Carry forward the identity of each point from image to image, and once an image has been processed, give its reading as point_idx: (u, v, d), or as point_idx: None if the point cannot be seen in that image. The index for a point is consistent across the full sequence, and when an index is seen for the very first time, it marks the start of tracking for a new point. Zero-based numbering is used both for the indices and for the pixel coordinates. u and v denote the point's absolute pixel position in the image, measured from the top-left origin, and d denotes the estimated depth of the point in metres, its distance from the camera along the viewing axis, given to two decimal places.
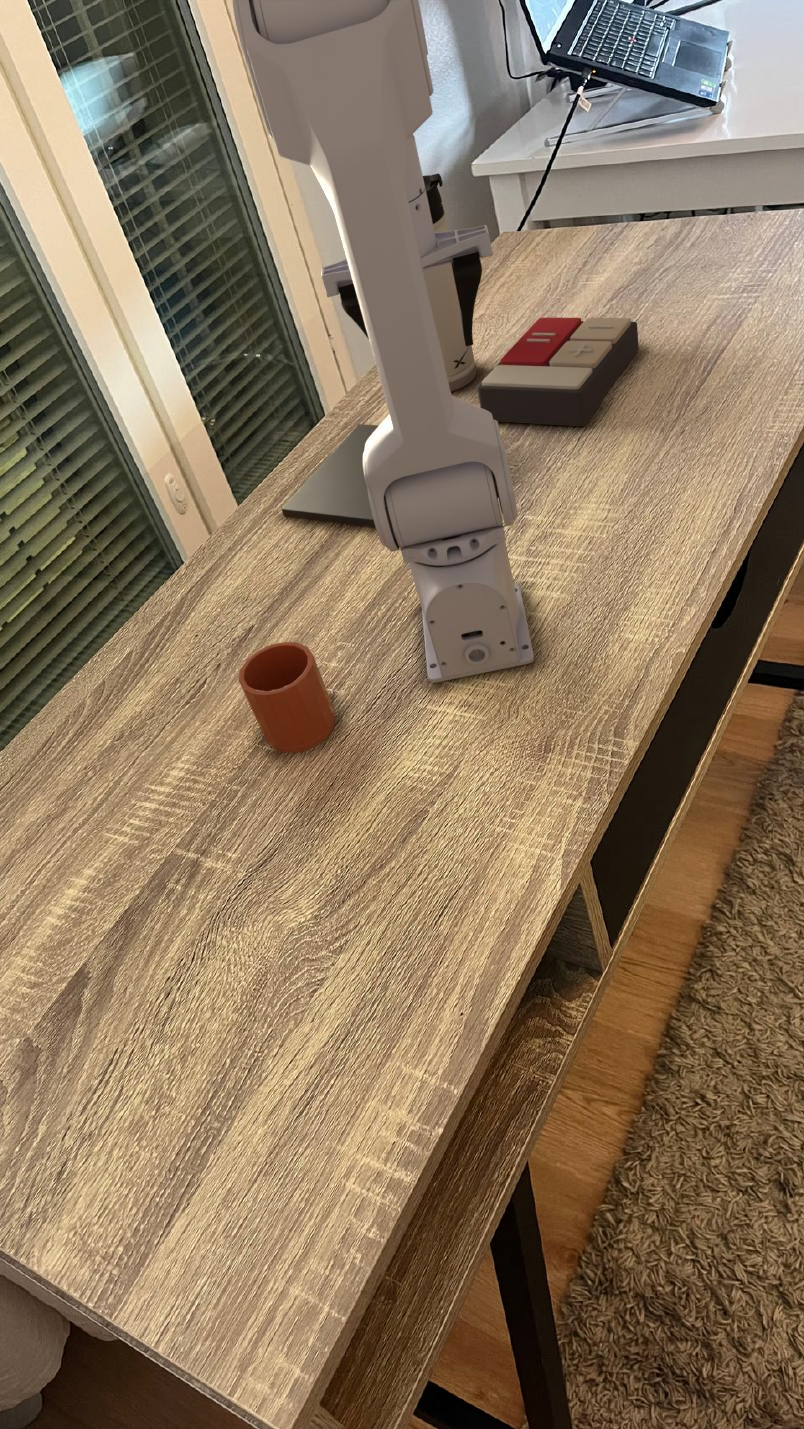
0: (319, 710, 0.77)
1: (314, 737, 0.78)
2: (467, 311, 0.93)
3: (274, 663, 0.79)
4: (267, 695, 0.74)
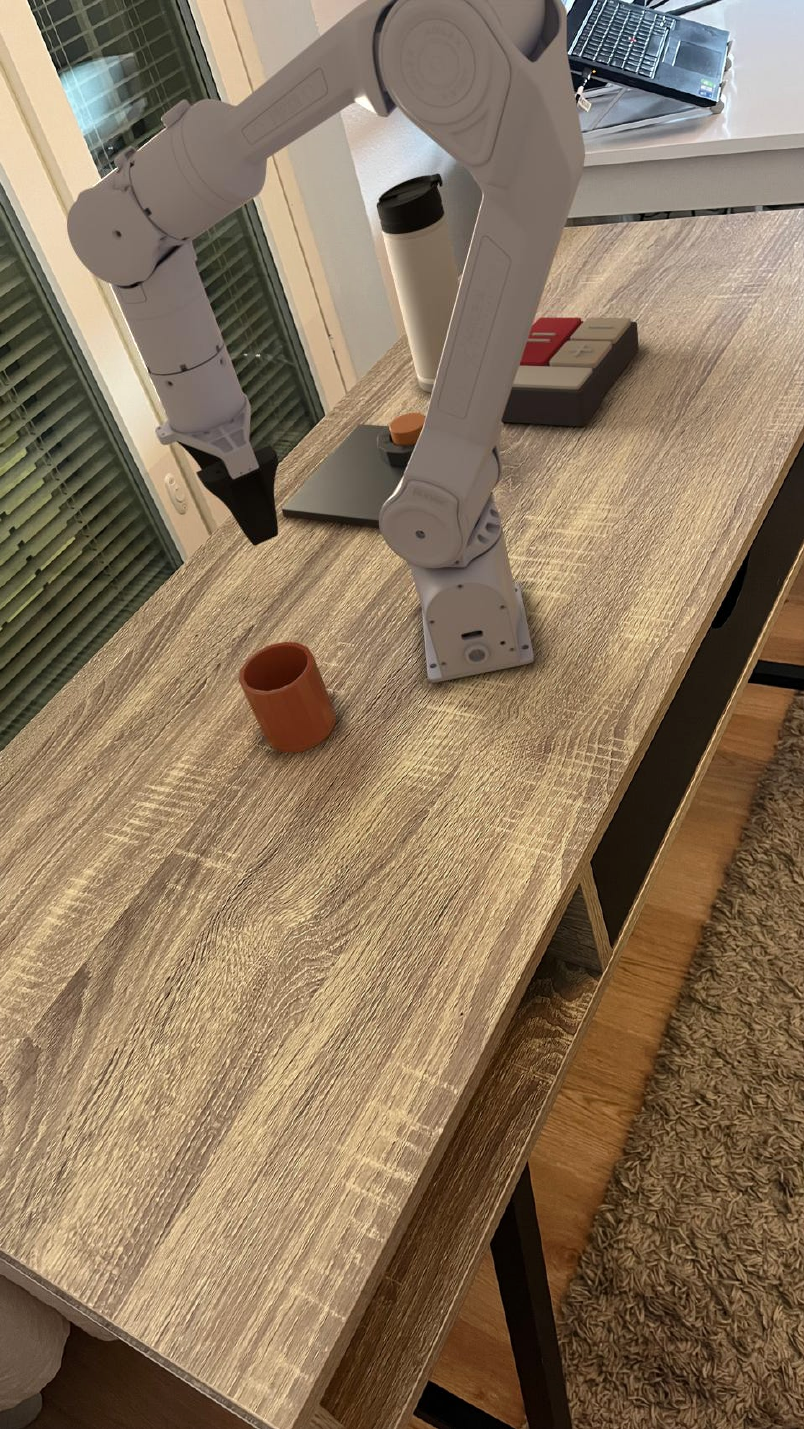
0: (319, 710, 0.77)
1: (314, 737, 0.78)
2: None
3: (274, 663, 0.79)
4: (267, 695, 0.74)
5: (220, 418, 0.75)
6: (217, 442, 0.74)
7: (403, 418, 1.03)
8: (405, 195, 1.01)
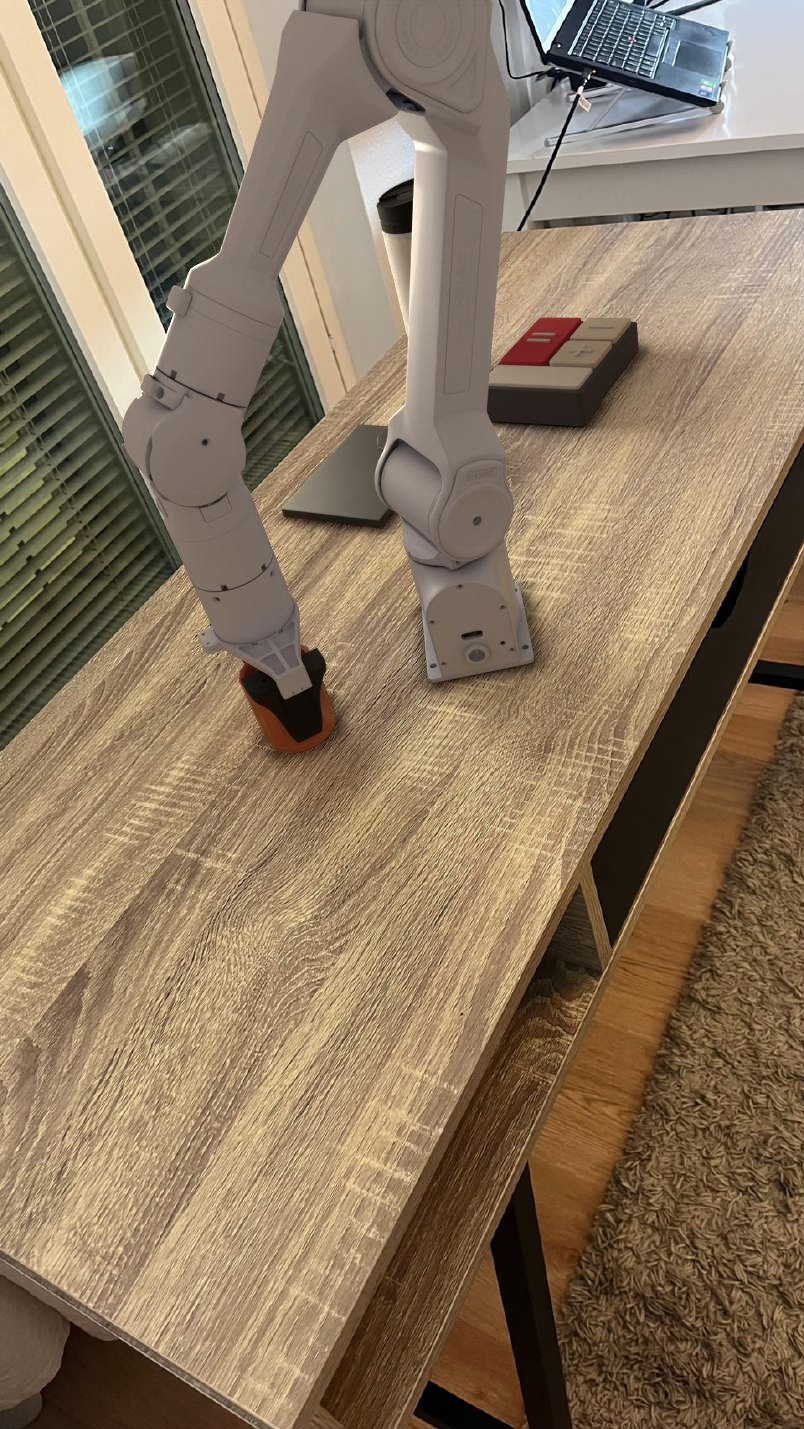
0: None
1: (314, 737, 0.78)
2: None
3: None
4: None
5: (269, 629, 0.71)
6: (267, 658, 0.70)
7: None
8: (405, 195, 1.01)
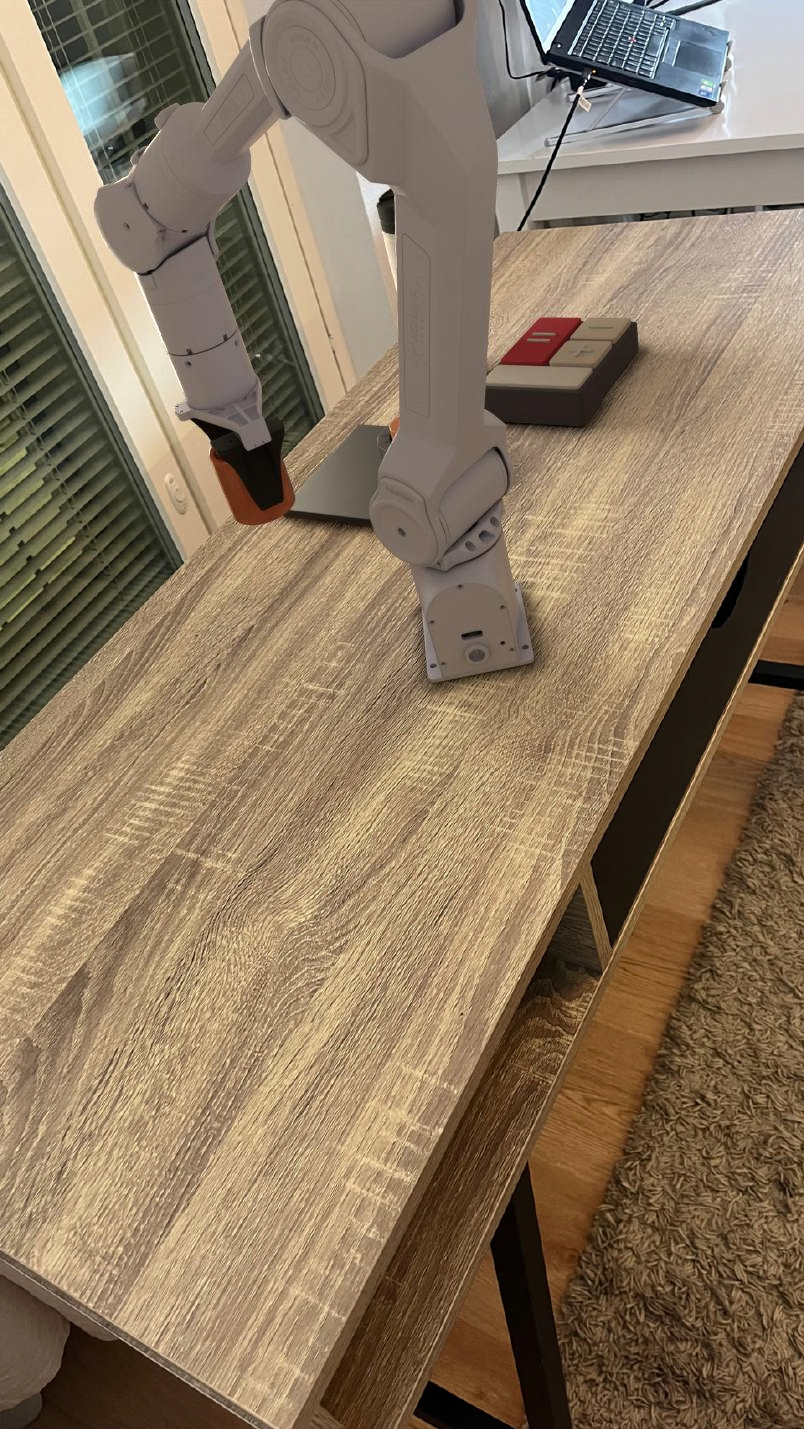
0: None
1: (276, 510, 0.88)
2: None
3: None
4: None
5: (234, 395, 0.81)
6: (233, 417, 0.80)
7: None
8: None
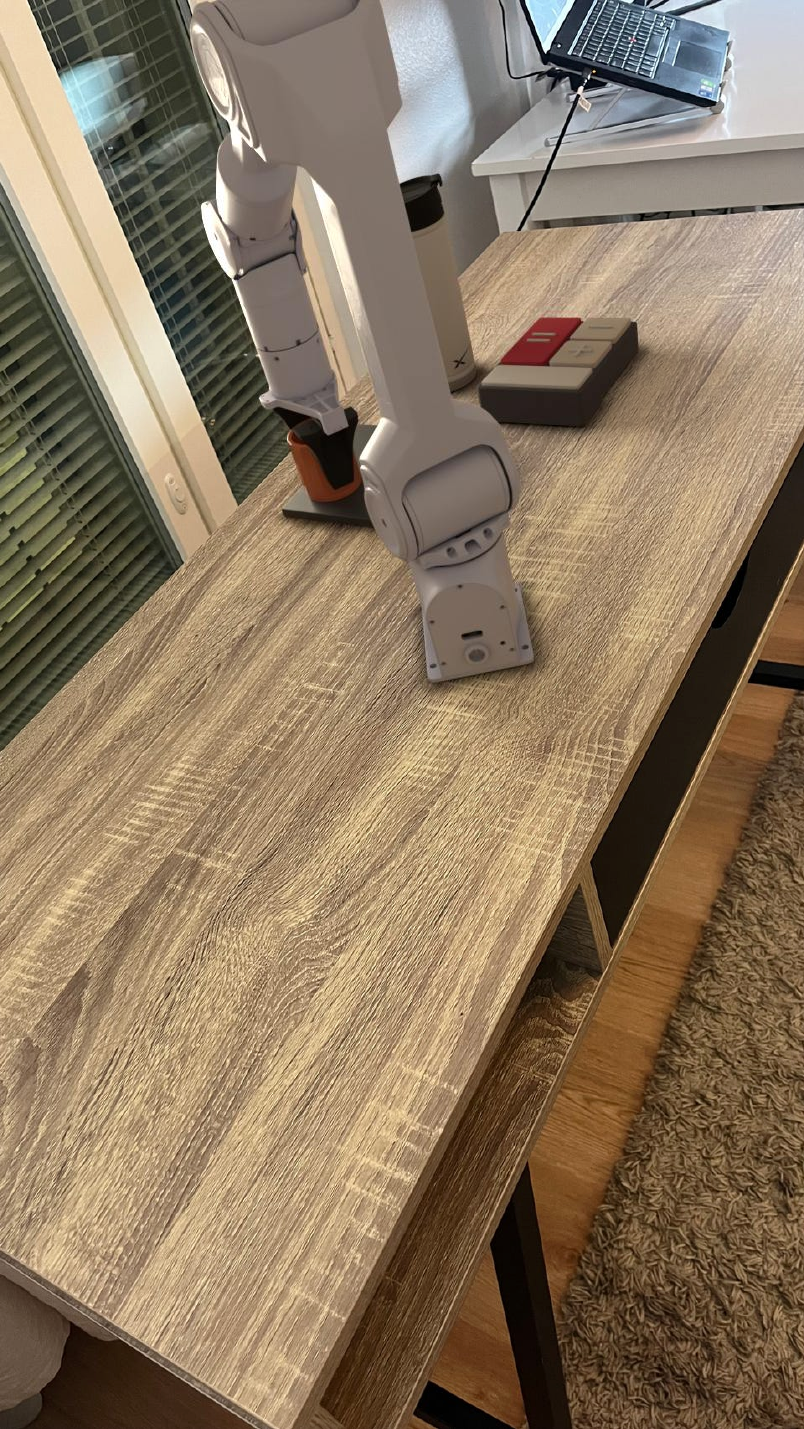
0: None
1: (345, 488, 1.00)
2: None
3: None
4: None
5: (315, 387, 0.93)
6: (314, 405, 0.92)
7: None
8: (405, 195, 1.01)
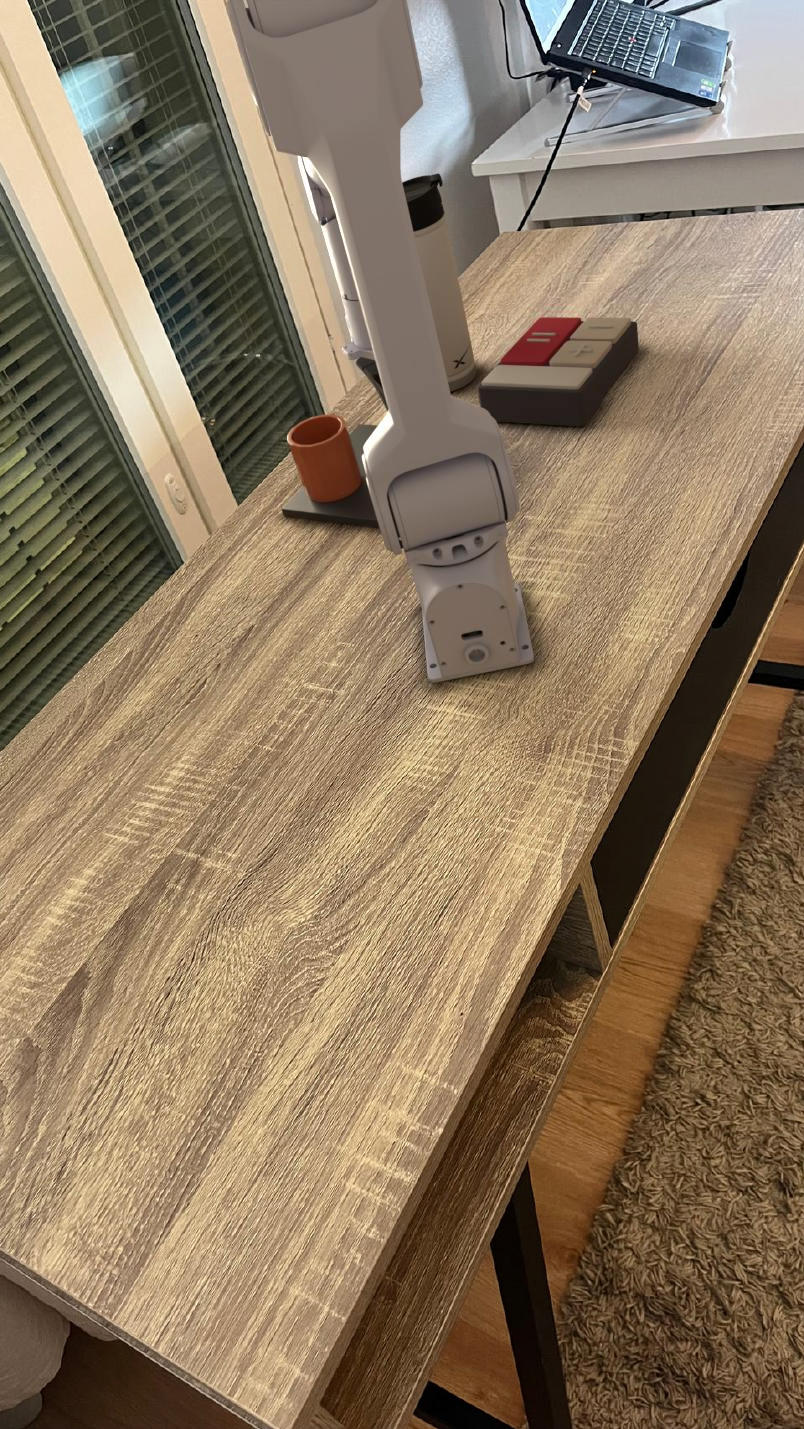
0: (349, 465, 0.99)
1: (345, 488, 1.00)
2: None
3: (314, 433, 1.01)
4: (310, 447, 0.96)
5: None
6: None
7: None
8: (405, 195, 1.01)
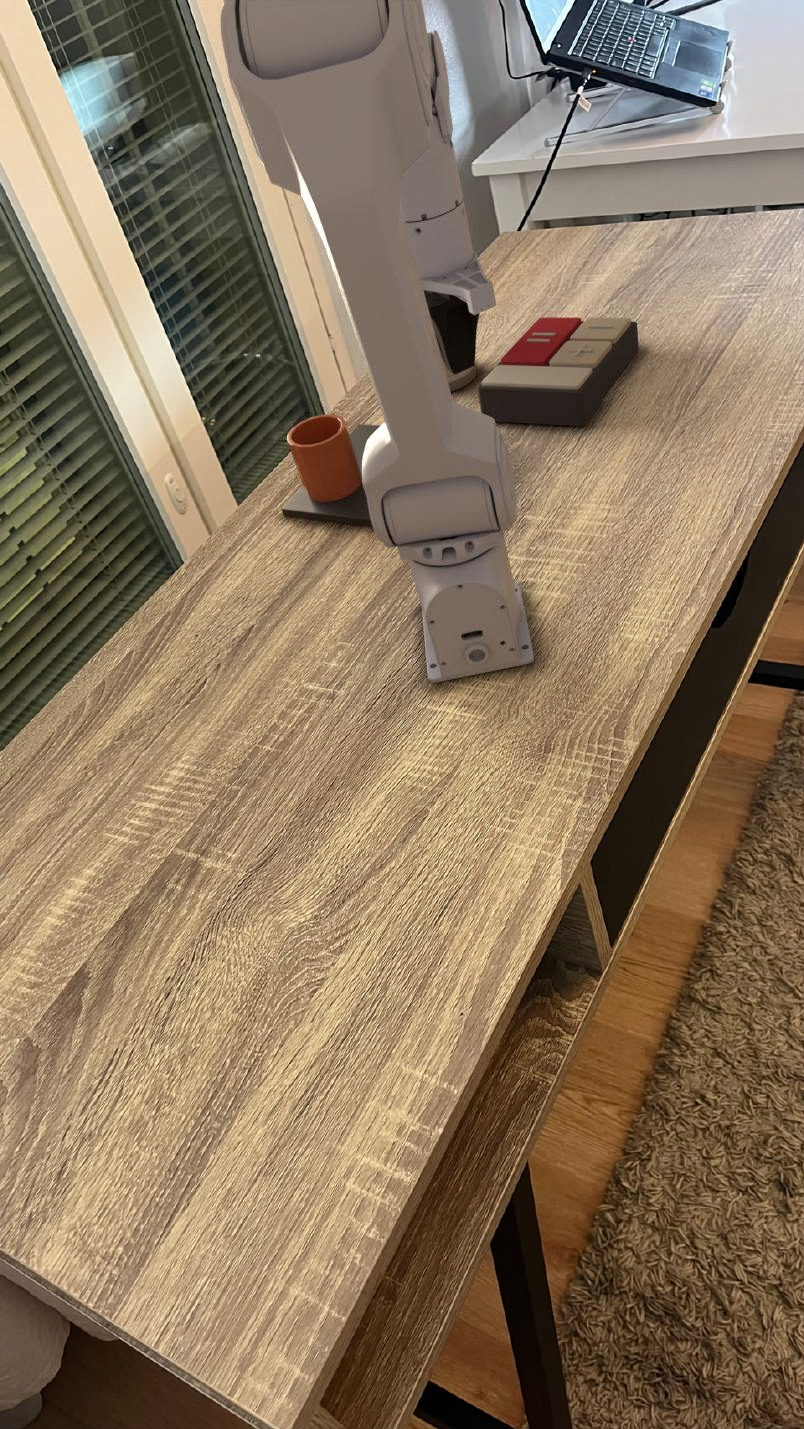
0: (349, 465, 0.99)
1: (345, 488, 1.00)
2: None
3: (314, 433, 1.01)
4: (310, 447, 0.96)
5: (457, 265, 0.84)
6: (458, 283, 0.83)
7: None
8: None
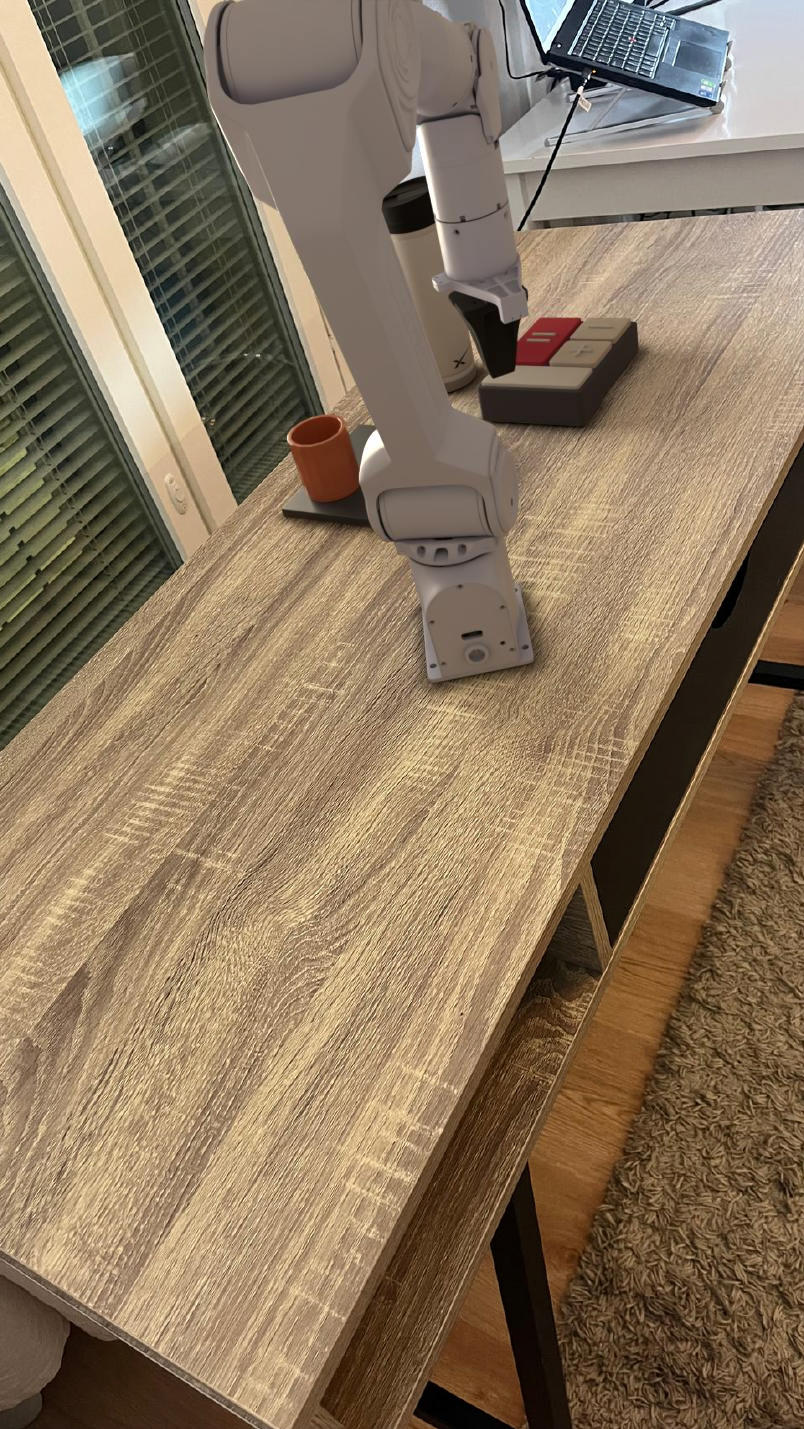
0: (349, 465, 0.99)
1: (345, 488, 1.00)
2: None
3: (314, 433, 1.01)
4: (310, 447, 0.96)
5: (496, 269, 0.82)
6: (493, 289, 0.81)
7: None
8: (405, 195, 1.01)
